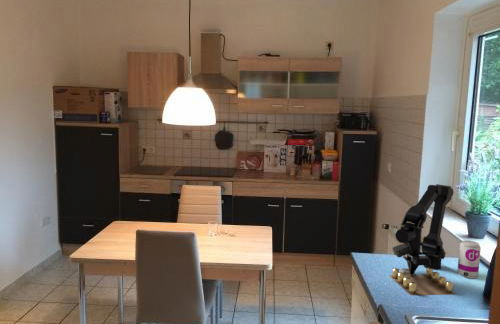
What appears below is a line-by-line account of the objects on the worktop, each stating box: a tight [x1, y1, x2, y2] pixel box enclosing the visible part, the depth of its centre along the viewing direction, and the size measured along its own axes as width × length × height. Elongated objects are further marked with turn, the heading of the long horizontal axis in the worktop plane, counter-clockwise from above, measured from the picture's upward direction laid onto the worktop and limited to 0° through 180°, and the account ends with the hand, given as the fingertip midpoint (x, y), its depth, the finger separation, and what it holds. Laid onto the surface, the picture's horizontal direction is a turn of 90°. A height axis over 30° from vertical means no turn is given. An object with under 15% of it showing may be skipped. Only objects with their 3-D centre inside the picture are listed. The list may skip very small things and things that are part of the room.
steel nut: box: [399, 267, 415, 276], centre depth 181 cm, size 5×6×2 cm
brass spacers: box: [391, 267, 454, 295], centre depth 169 cm, size 18×18×4 cm
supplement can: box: [457, 239, 481, 279], centre depth 183 cm, size 8×8×15 cm
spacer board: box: [388, 274, 457, 296], centre depth 170 cm, size 19×20×1 cm
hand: (411, 274), depth 178 cm, fingers closed
